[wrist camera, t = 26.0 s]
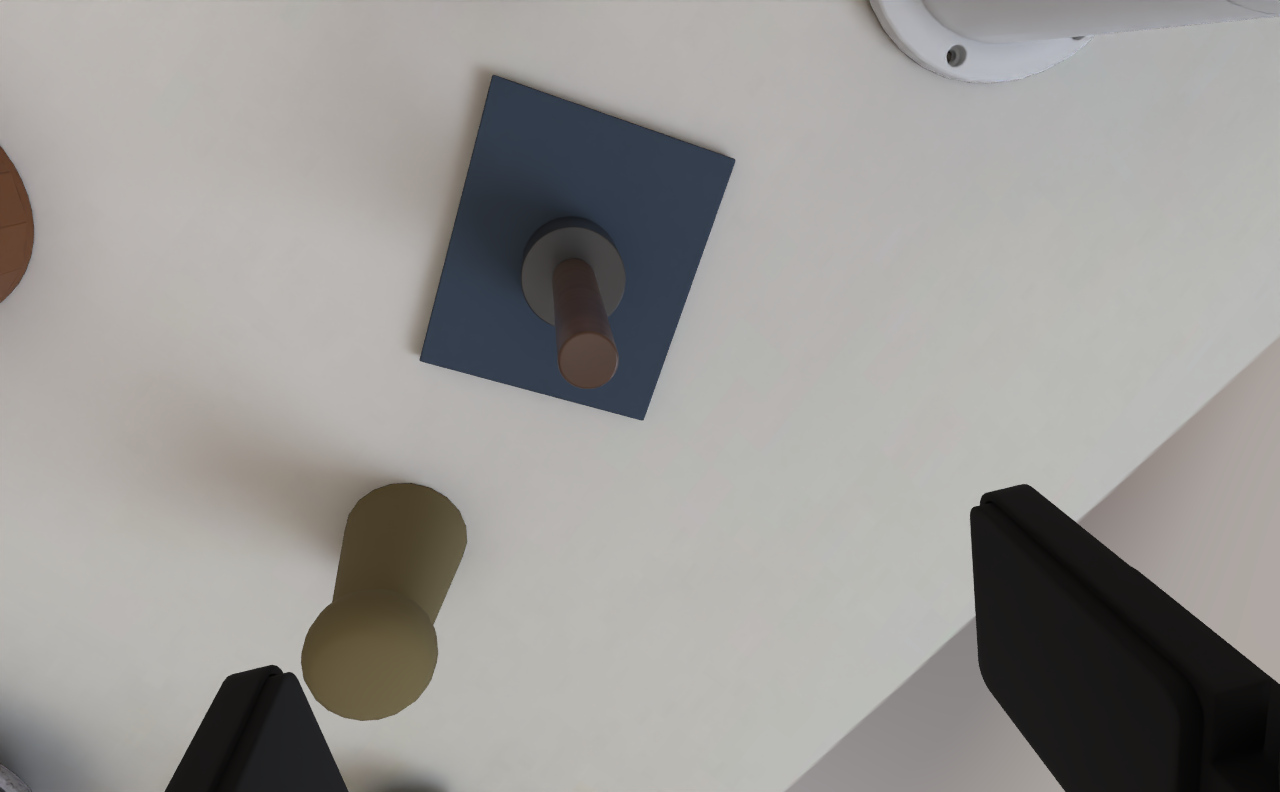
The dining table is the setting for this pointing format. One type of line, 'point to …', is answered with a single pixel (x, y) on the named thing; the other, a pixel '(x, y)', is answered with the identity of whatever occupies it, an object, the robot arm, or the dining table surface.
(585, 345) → the brush
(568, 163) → the mat
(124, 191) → the dining table surface
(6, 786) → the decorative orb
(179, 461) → the dining table surface
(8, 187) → the jar
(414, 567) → the olive game pawn
